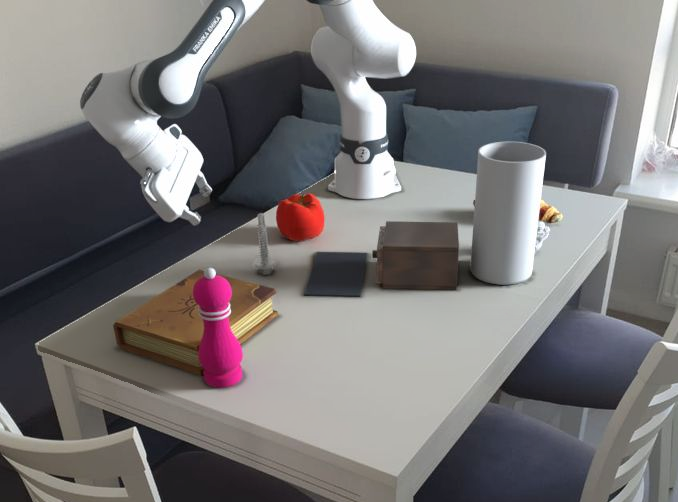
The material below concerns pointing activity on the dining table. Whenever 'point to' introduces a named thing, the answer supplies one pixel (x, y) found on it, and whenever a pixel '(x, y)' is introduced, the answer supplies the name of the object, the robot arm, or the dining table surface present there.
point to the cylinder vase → (506, 211)
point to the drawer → (379, 255)
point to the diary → (190, 322)
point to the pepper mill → (217, 331)
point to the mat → (337, 274)
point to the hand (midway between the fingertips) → (203, 207)
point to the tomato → (300, 217)
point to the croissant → (546, 213)
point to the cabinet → (420, 255)
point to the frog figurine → (541, 234)
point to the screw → (263, 249)
